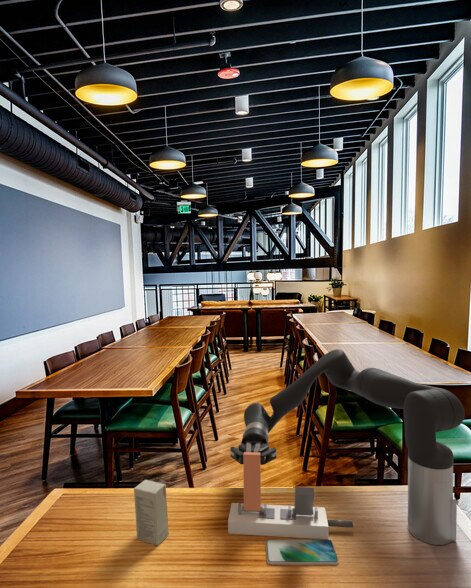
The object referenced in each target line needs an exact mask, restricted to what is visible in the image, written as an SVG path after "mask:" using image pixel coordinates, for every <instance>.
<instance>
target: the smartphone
mask: <svg viewBox="0 0 471 588" xmlns="http://www.w3.org/2000/svg"><path fill="white" fill-rule="evenodd" d="M265 552H266V554H265V555H266V563H267V564H268V565H269V566H270V565H275V566H279V565H280V566H283V565H284V566H288V565H289V566H291V565H293V566H298V565H299V566H301V565H304V566H323V565H324V566H337V565H339V563H340V562H339V558H338V555H337V552H336V549H335V546H334V542H333V541H332V539H330V538H329V539H314V538H299V539H297V538H296V539H295V538H294V539H291V538H290V539H289V538H288V539H285V538H284V539H281V538H279V539H275V538H273V539H271V538H270V539H266V540H265Z"/></svg>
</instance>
